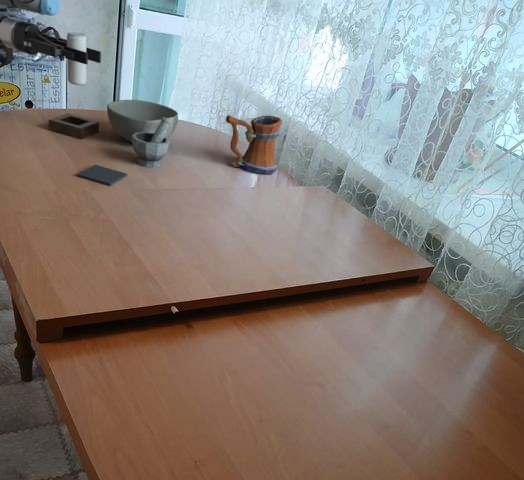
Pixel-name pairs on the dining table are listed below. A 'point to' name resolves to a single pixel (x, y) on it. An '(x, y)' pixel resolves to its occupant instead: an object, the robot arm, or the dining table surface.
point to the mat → (102, 175)
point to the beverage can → (75, 68)
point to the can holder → (74, 126)
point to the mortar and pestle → (152, 145)
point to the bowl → (139, 117)
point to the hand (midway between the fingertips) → (93, 58)
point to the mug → (256, 144)
